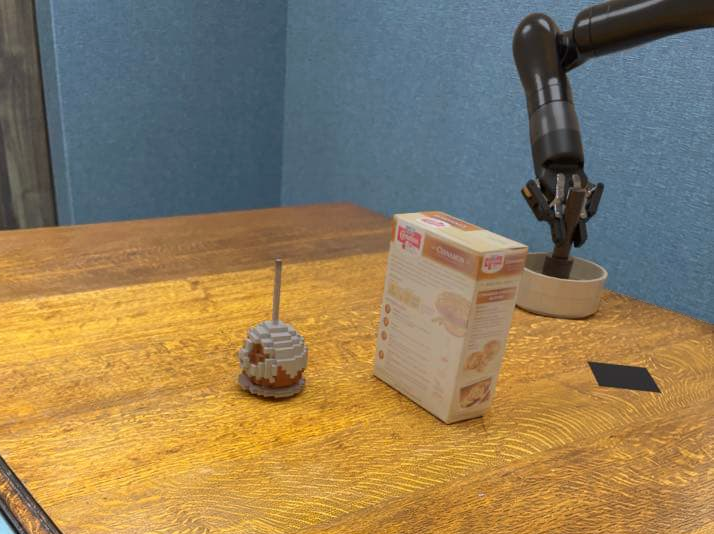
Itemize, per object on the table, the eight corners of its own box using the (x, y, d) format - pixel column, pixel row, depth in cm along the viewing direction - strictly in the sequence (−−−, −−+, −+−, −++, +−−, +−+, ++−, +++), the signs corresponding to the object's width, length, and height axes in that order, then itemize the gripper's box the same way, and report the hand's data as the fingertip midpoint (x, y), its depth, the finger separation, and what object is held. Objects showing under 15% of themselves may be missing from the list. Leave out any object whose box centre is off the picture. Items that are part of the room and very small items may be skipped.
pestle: (565, 278, 132) (589, 187, 124) (569, 287, 129) (595, 194, 120) (538, 275, 132) (561, 184, 124) (541, 284, 129) (566, 191, 121)
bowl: (587, 294, 136) (597, 257, 132) (605, 324, 124) (616, 285, 121) (502, 284, 136) (510, 248, 133) (512, 314, 125) (521, 275, 121)
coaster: (645, 370, 110) (646, 367, 110) (660, 396, 104) (661, 392, 104) (586, 364, 111) (587, 361, 110) (598, 389, 104) (599, 385, 104)
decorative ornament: (229, 376, 98) (232, 251, 90) (288, 370, 101) (297, 247, 93) (252, 405, 93) (258, 273, 84) (314, 397, 96) (326, 269, 87)
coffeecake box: (492, 414, 96) (532, 245, 84) (446, 426, 92) (481, 251, 81) (414, 365, 106) (440, 208, 94) (369, 374, 102) (391, 212, 91)
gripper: (526, 123, 122) (542, 231, 120) (608, 128, 125) (625, 233, 123) (504, 154, 129) (518, 256, 127) (582, 158, 133) (597, 257, 130)
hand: (570, 244), depth 125 cm, fingers closed on pestle, 2 cm apart
